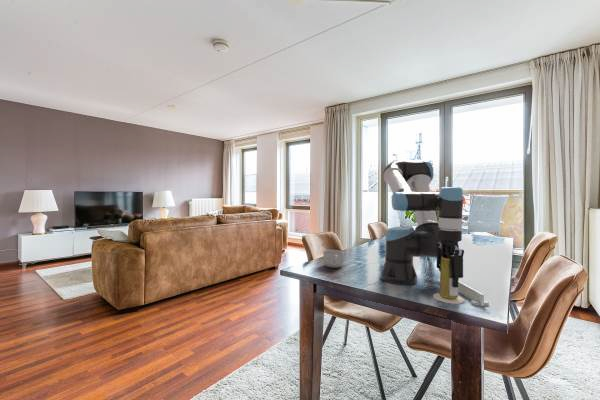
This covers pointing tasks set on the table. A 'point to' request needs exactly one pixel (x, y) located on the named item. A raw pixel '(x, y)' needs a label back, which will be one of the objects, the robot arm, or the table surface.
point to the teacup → (333, 258)
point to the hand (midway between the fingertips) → (448, 292)
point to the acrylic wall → (471, 294)
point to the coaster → (448, 299)
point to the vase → (445, 278)
